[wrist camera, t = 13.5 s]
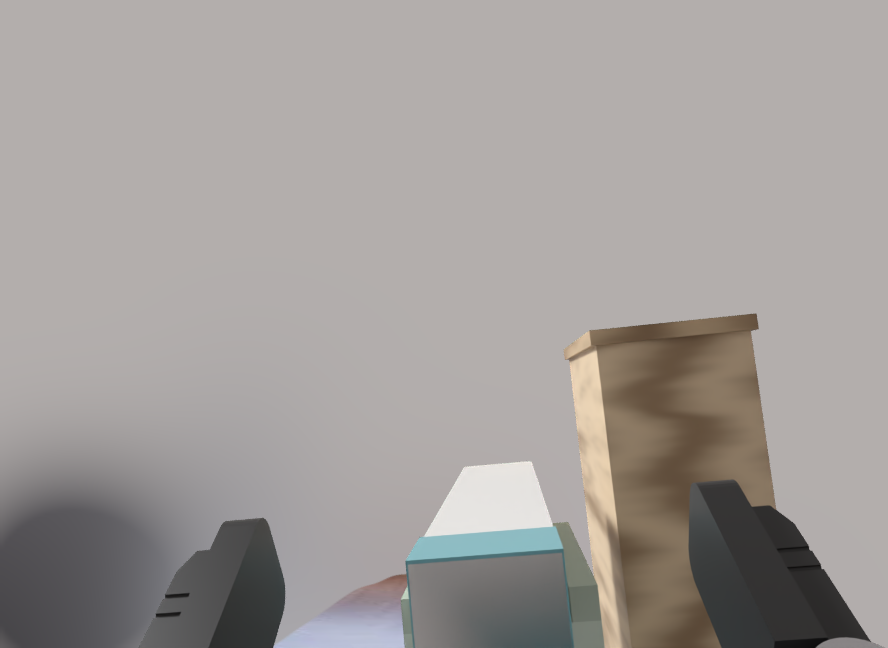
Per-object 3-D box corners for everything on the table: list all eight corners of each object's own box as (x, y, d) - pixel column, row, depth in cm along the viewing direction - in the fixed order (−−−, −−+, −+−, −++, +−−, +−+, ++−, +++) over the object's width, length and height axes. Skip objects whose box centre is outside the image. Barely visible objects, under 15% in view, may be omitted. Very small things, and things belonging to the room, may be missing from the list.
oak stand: (667, 990, 34) (589, 330, 37) (614, 794, 50) (563, 349, 54) (852, 985, 33) (756, 313, 36) (737, 788, 50) (678, 337, 53)
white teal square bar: (420, 725, 18) (405, 560, 18) (470, 535, 42) (463, 465, 42) (581, 716, 18) (563, 548, 18) (539, 529, 41) (532, 459, 42)
